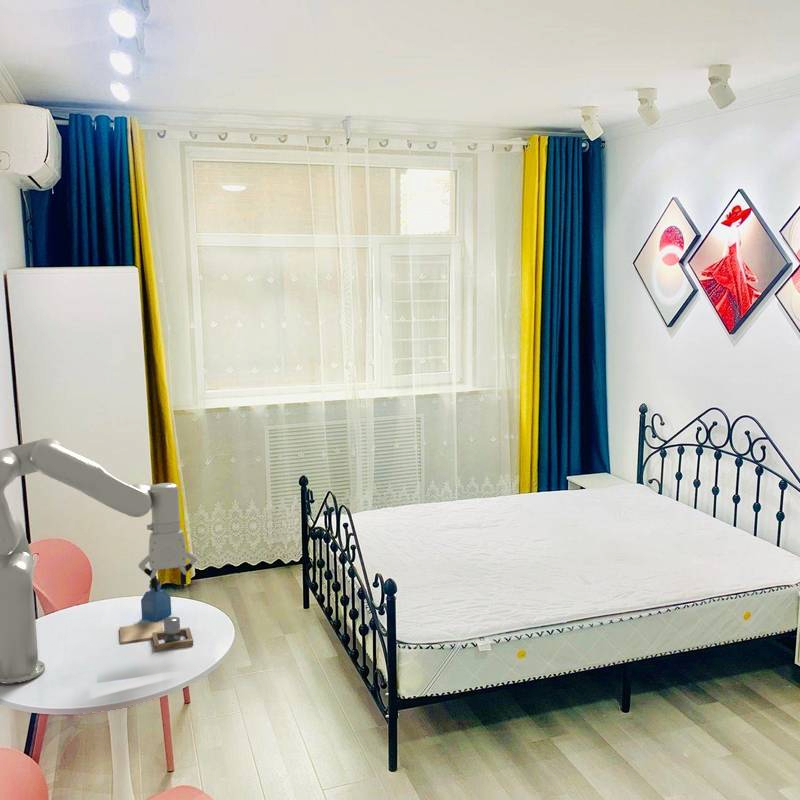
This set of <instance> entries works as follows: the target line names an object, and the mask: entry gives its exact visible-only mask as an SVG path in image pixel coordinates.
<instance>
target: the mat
mask: <svg viewBox="0 0 800 800" xmlns="http://www.w3.org/2000/svg"><path fill="white" fill-rule="evenodd" d="M161 631H164V626H163V623H162V620H160V621H158V622H148V623H147V622H146V623H140V624H133V625H132V624H131V625H127V626H125V625H124V626H119V639H120V645H125V644H129V643H135V642H136V643H137V642H143V641H149V640H153V635H152V633H154V632H161ZM160 637H161V638H160ZM163 638H164V639H165V637H164V636H158V639H163Z"/></svg>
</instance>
